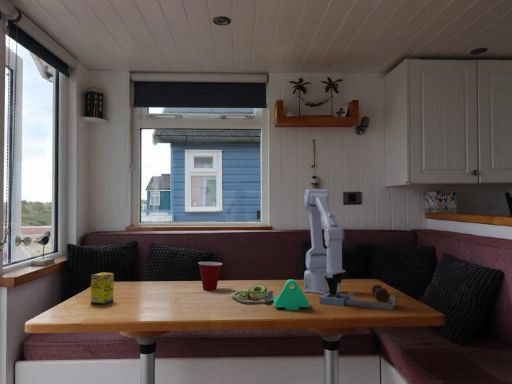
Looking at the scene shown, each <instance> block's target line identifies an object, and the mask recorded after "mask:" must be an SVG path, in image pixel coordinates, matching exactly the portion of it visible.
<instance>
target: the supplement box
mask: <svg viewBox="0 0 512 384" xmlns="http://www.w3.org/2000/svg"><path fill="white" fill-rule="evenodd" d="M114 274H115V273H114V272H113V273H112V272H100V273H99V272H98V273H94V274H91V275H90V277H91V278H90V279H91V281H90V304H91V305H100V306H104V305H106V304H109V303H113V302H114V285H115V283H114V279H115V277H114V276H115V275H114Z"/></svg>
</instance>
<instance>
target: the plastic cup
mask: <svg viewBox="0 0 512 384" xmlns="http://www.w3.org/2000/svg"><path fill="white" fill-rule="evenodd" d="M197 263H198V266H199V267H198V268H199V273H200V277H201V278H200V279H201V284H202V289H203V291H206V292H209V291H210V292H213V291H216V290H217V287H218V282H219V279H220V278H219V277H220V271H221V268H222V266H223V263H222V262H216V261H215V262H214V261H199V262H197Z"/></svg>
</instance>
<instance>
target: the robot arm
mask: <svg viewBox="0 0 512 384" xmlns="http://www.w3.org/2000/svg"><path fill="white" fill-rule="evenodd" d="M303 200H304V201H303V202H304V207H305V209H306V210H308V215H309V217H308V218H309V225H310V226H309V227H310V239H311V248H310V249H308V250H307V252H306V253H305V265H306V270H304V276H303V293H314V294H322V295H324V294H325V293H330V295H336V293H337V286H338V283H340V285H341V284H342V280H343V278H344V276H345V274H344V273H345V272H346V270H345V269H343V251H342V249H343V241H344V239H345V230H344V227H343V226H341V225H340V224H339V223H338V220H337V218H336V216H335V214H334V213H333V212H331V210H330V205H329V201H330V192H329V190H328V189H327V188H325V189H321V188H320V189H314V188H311V189H309V188H306V189H305V191H304V195H303ZM322 226H323V228H322ZM322 229H324V233H323V232H322V231H323V230H322ZM323 236H324V240H325V241H324V242H323ZM324 243H325V244H324ZM324 245H325V246H326V248H325V247H324Z"/></svg>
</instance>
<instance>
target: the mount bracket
mask: <svg viewBox="0 0 512 384" xmlns="http://www.w3.org/2000/svg"><path fill="white" fill-rule="evenodd" d="M345 295H346V304H345V305H346V306H350V307H351V306H352V307H360V308H361V307H363V308H370V309H378V310H380V309H381V310H387V311H393V310H394V307H395V305H396V298H395V296H396V295H393V294H391V295H390V297H389V299H388V302H378V301H370V300H369V301H368V300H361V299H360V300H359V299H354V291H352V290H350V291H349V292H347V293H346V294H345Z"/></svg>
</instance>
